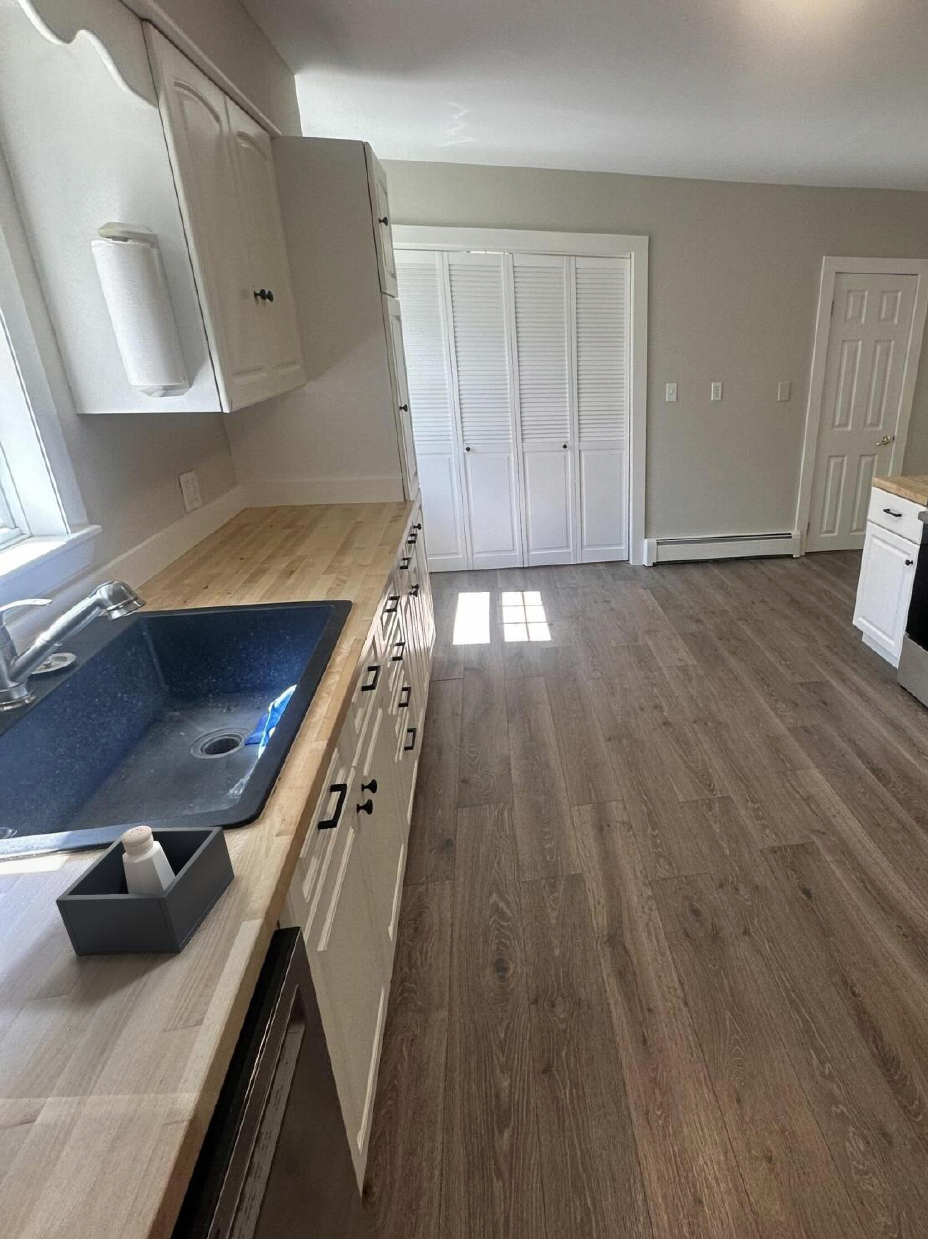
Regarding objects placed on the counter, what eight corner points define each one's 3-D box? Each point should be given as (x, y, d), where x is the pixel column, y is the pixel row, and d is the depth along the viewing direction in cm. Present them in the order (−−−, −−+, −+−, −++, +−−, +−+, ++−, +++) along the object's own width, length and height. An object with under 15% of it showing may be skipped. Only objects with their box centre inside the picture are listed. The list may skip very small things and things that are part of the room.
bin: (75, 955, 73) (54, 900, 70) (143, 878, 83) (127, 828, 81) (181, 952, 73) (164, 897, 70) (235, 876, 84) (222, 826, 81)
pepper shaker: (140, 897, 79) (115, 822, 76) (191, 886, 81) (170, 812, 77) (124, 932, 75) (97, 854, 71) (179, 920, 76) (156, 843, 72)
